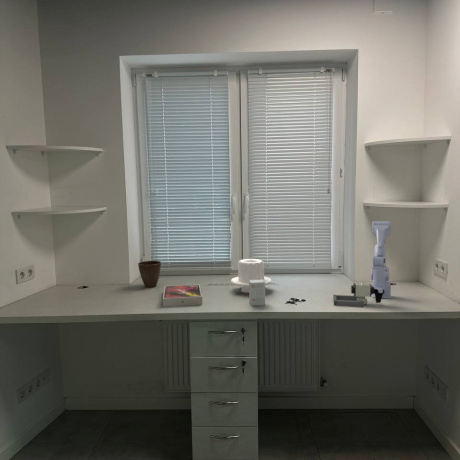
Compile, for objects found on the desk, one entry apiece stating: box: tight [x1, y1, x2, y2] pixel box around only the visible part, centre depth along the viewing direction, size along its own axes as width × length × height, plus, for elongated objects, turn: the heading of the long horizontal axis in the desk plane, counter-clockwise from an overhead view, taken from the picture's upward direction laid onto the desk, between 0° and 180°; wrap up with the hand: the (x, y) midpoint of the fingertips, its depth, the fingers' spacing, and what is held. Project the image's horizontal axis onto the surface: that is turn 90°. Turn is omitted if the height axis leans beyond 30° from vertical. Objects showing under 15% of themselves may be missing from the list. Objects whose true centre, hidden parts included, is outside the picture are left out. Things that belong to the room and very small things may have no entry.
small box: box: [248, 280, 266, 307], centre depth 213 cm, size 8×6×13 cm
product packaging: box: [162, 283, 203, 307], centre depth 227 cm, size 22×28×5 cm
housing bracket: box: [332, 294, 365, 308], centre depth 213 cm, size 16×12×2 cm
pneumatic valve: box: [350, 282, 374, 305], centre depth 211 cm, size 6×12×12 cm, turn 80°
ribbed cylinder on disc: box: [230, 258, 272, 294], centre depth 241 cm, size 25×25×19 cm
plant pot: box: [137, 260, 162, 289], centre depth 255 cm, size 15×15×16 cm
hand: (378, 302), depth 210 cm, fingers closed, pressing on pneumatic valve
